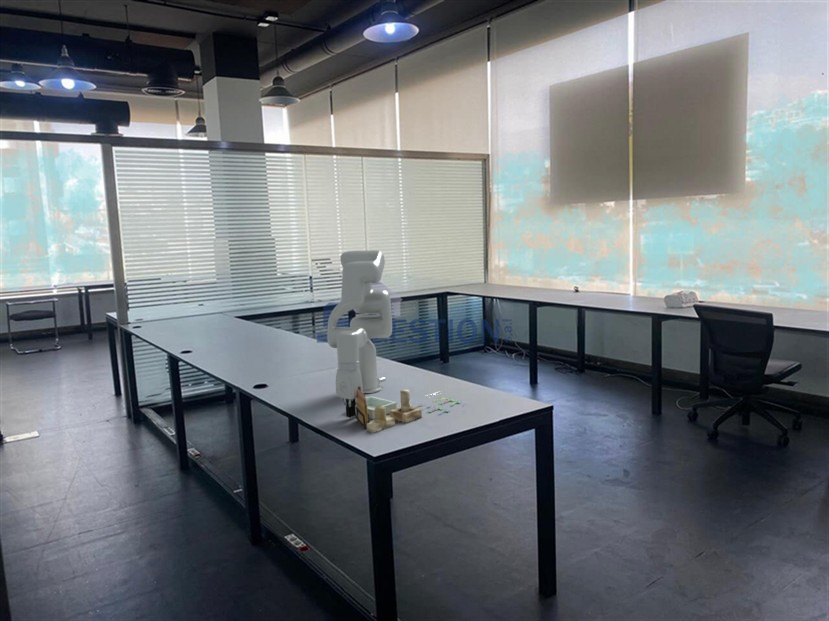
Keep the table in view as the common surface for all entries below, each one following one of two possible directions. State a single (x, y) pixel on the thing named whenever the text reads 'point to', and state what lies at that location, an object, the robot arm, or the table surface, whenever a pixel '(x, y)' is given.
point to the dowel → (405, 401)
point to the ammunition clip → (362, 410)
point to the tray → (378, 405)
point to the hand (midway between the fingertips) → (351, 416)
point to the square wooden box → (406, 414)
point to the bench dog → (380, 420)
